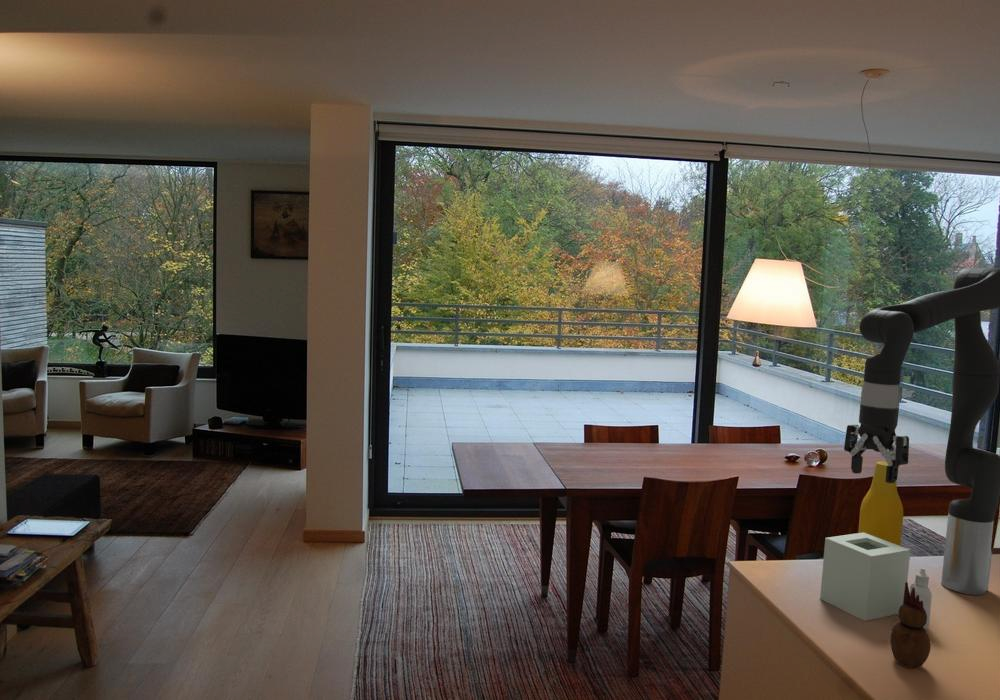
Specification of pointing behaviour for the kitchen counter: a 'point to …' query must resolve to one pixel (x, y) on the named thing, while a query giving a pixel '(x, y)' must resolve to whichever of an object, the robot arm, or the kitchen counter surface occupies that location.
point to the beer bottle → (882, 508)
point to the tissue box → (864, 575)
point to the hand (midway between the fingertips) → (873, 477)
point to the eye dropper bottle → (923, 592)
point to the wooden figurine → (910, 632)
